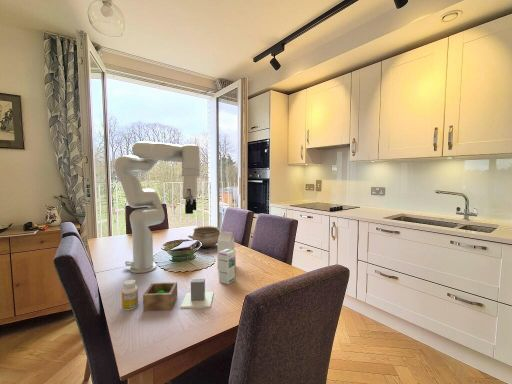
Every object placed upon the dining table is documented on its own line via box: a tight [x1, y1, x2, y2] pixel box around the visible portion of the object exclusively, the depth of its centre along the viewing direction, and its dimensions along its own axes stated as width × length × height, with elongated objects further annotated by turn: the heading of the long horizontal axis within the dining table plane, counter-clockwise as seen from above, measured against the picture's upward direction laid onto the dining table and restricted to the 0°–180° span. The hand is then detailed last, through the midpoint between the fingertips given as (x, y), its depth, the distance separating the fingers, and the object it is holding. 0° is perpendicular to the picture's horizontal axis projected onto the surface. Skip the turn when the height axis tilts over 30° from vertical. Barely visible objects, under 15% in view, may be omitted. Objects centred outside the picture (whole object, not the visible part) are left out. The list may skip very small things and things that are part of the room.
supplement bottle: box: [121, 279, 139, 311], centre depth 92 cm, size 5×5×10 cm
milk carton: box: [217, 231, 235, 269], centre depth 132 cm, size 7×7×19 cm
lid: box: [180, 278, 215, 309], centre depth 97 cm, size 11×11×8 cm
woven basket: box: [187, 225, 221, 249], centre depth 168 cm, size 25×19×12 cm
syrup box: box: [218, 249, 237, 285], centre depth 115 cm, size 6×6×14 cm
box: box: [142, 281, 178, 312], centre depth 95 cm, size 10×10×6 cm
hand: (191, 211), depth 109 cm, fingers open, 9 cm apart
